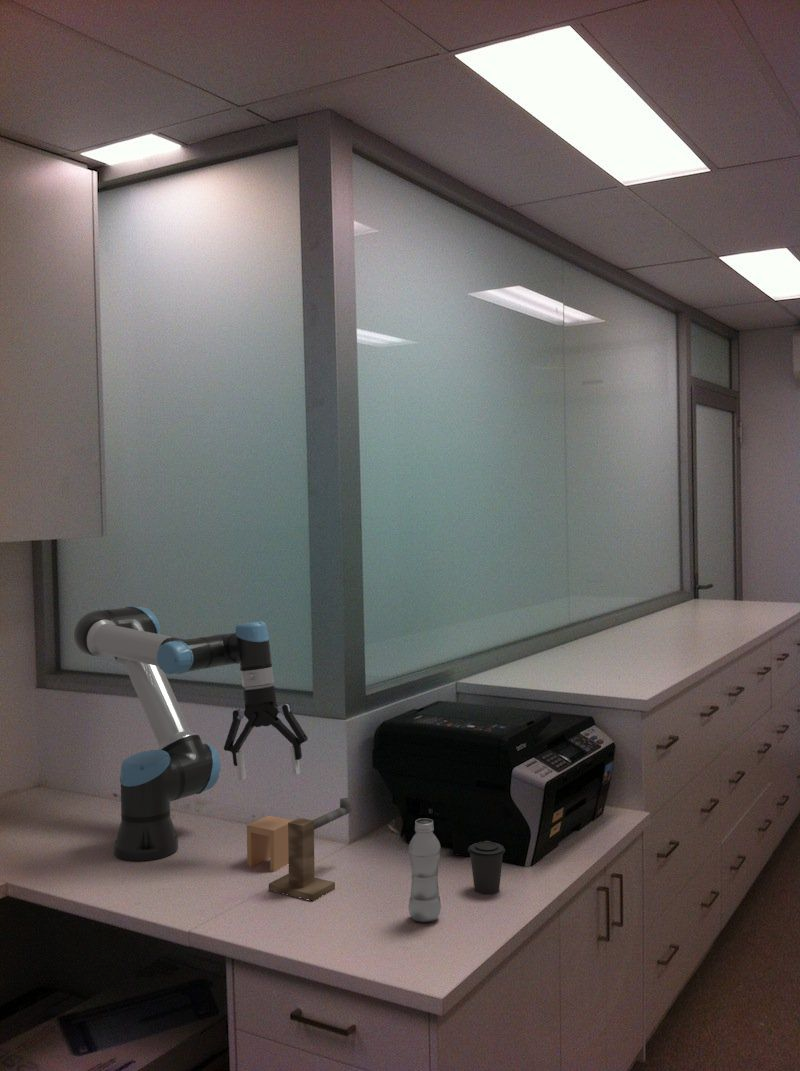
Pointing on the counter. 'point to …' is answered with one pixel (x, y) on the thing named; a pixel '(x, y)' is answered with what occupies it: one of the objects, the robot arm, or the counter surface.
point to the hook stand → (306, 857)
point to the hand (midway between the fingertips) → (269, 776)
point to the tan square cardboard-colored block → (268, 842)
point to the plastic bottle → (424, 873)
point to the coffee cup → (486, 866)
